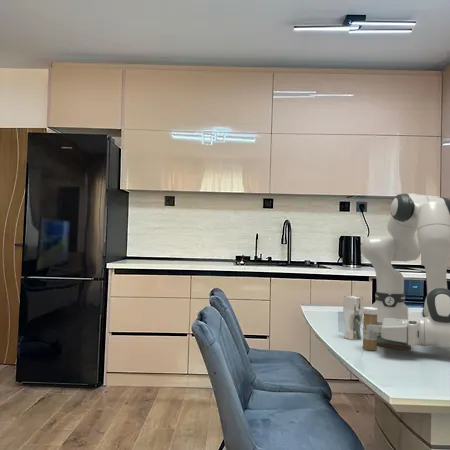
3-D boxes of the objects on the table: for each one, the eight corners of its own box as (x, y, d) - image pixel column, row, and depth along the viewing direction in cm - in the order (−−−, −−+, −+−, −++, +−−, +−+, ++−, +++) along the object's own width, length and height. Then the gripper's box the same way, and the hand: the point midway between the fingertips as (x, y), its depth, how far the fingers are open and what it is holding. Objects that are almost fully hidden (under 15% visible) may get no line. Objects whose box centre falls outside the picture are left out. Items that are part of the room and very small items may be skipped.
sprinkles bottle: (360, 347, 140) (360, 306, 140) (373, 347, 140) (374, 306, 141) (366, 350, 135) (366, 308, 136) (379, 351, 135) (380, 308, 136)
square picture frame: (371, 338, 155) (371, 328, 155) (410, 342, 150) (410, 332, 150) (369, 345, 143) (369, 335, 143) (411, 350, 138) (411, 339, 138)
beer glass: (338, 336, 156) (339, 295, 157) (354, 335, 158) (355, 295, 159) (350, 340, 149) (351, 298, 150) (366, 340, 152) (367, 298, 152)
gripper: (412, 315, 143) (369, 311, 148) (414, 325, 124) (365, 320, 129) (412, 334, 142) (369, 330, 148) (414, 347, 123) (364, 341, 129)
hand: (367, 325), depth 138 cm, fingers closed on sprinkles bottle, 4 cm apart
